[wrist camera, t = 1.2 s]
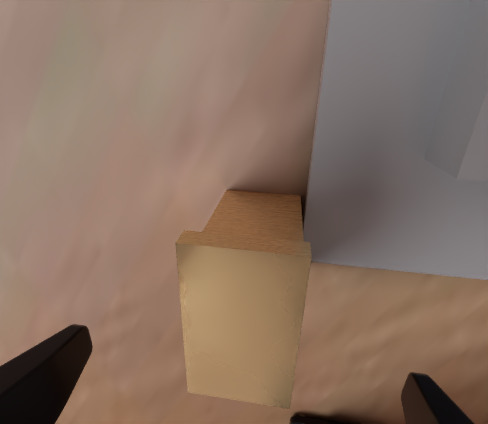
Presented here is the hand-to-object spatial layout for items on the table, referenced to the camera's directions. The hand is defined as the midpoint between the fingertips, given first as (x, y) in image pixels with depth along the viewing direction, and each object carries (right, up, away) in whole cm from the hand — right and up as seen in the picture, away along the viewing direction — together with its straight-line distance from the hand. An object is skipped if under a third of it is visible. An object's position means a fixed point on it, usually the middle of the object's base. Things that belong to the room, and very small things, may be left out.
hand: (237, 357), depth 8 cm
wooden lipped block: (+1, +3, +7) cm, 7 cm away
